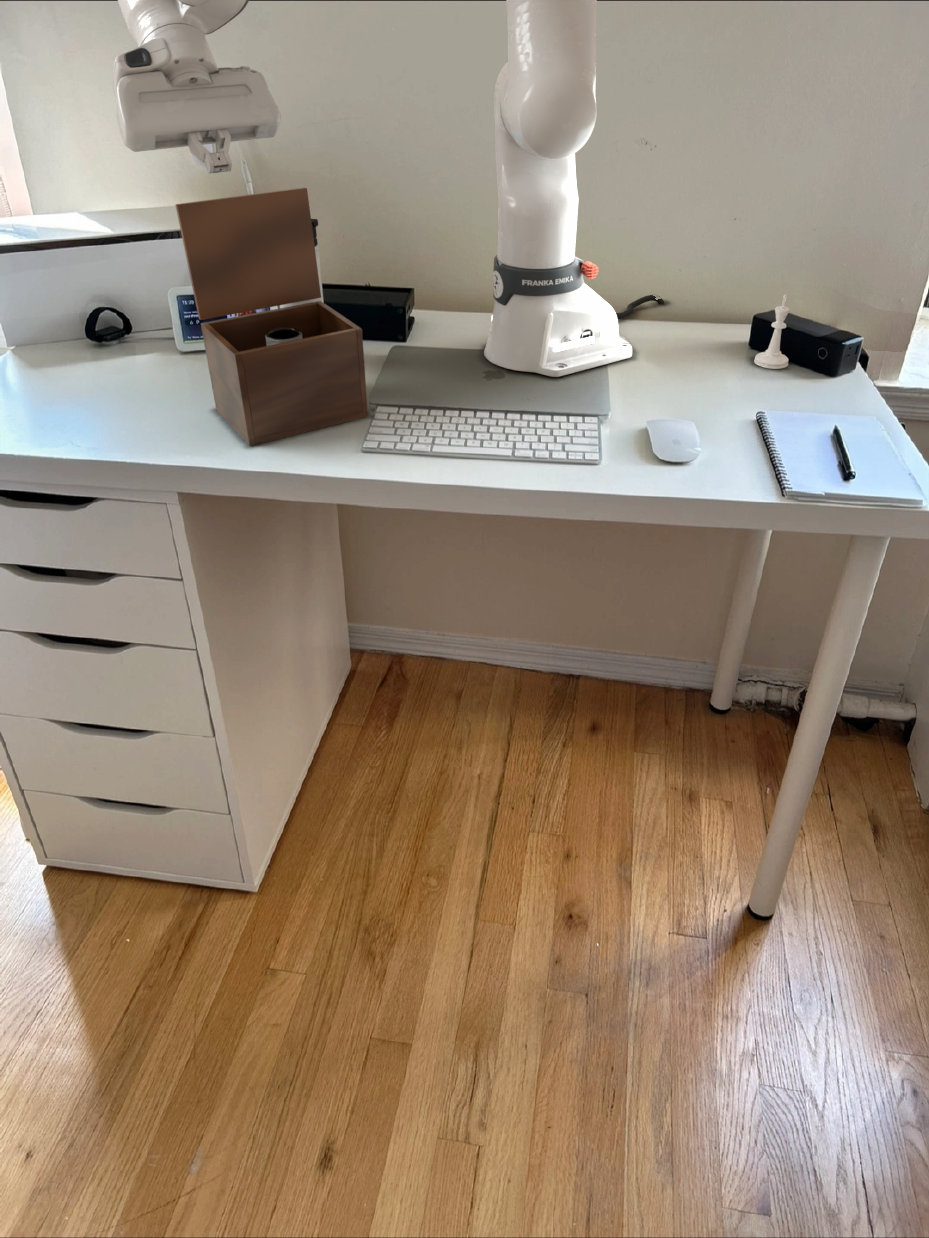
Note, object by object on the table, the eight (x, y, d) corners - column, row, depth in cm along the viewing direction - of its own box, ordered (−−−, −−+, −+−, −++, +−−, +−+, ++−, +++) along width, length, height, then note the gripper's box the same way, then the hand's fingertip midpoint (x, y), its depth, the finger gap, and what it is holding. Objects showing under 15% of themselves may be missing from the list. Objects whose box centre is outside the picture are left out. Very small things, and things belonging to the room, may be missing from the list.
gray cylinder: (282, 419, 117) (271, 341, 111) (271, 406, 120) (260, 330, 114) (315, 412, 119) (306, 335, 112) (303, 399, 122) (294, 324, 116)
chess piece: (751, 366, 133) (765, 298, 127) (756, 354, 137) (769, 287, 130) (786, 371, 131) (801, 302, 125) (789, 359, 135) (805, 291, 129)
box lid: (307, 188, 113) (304, 187, 113) (177, 205, 106) (175, 204, 107) (321, 297, 120) (319, 296, 121) (200, 320, 113) (198, 319, 114)
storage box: (368, 416, 120) (362, 328, 112) (249, 446, 113) (234, 355, 105) (328, 384, 128) (320, 300, 121) (216, 410, 121) (200, 323, 114)
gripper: (255, 83, 122) (292, 176, 121) (101, 96, 113) (140, 195, 113) (263, 48, 116) (301, 144, 115) (101, 58, 107) (142, 162, 107)
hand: (220, 169), depth 114 cm, fingers closed
